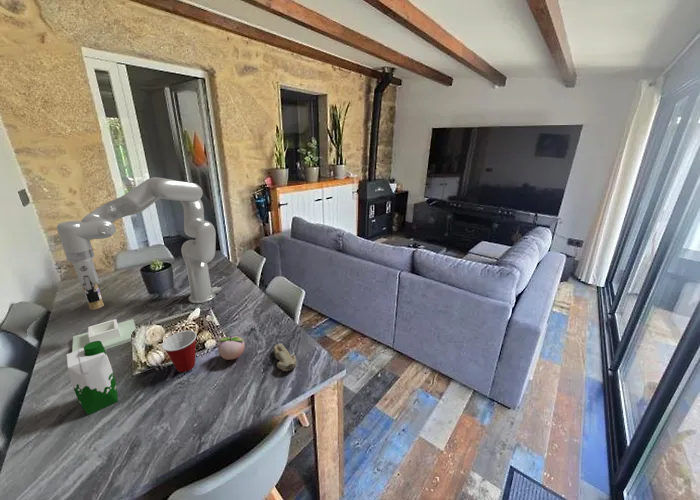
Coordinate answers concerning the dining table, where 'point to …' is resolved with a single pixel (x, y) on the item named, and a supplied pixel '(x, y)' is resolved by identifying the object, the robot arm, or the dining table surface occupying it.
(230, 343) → the decorative fruit
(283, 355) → the sculpture
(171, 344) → the plastic cup
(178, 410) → the dining table surface
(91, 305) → the sprinkles bottle
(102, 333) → the chute mount
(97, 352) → the milk carton
